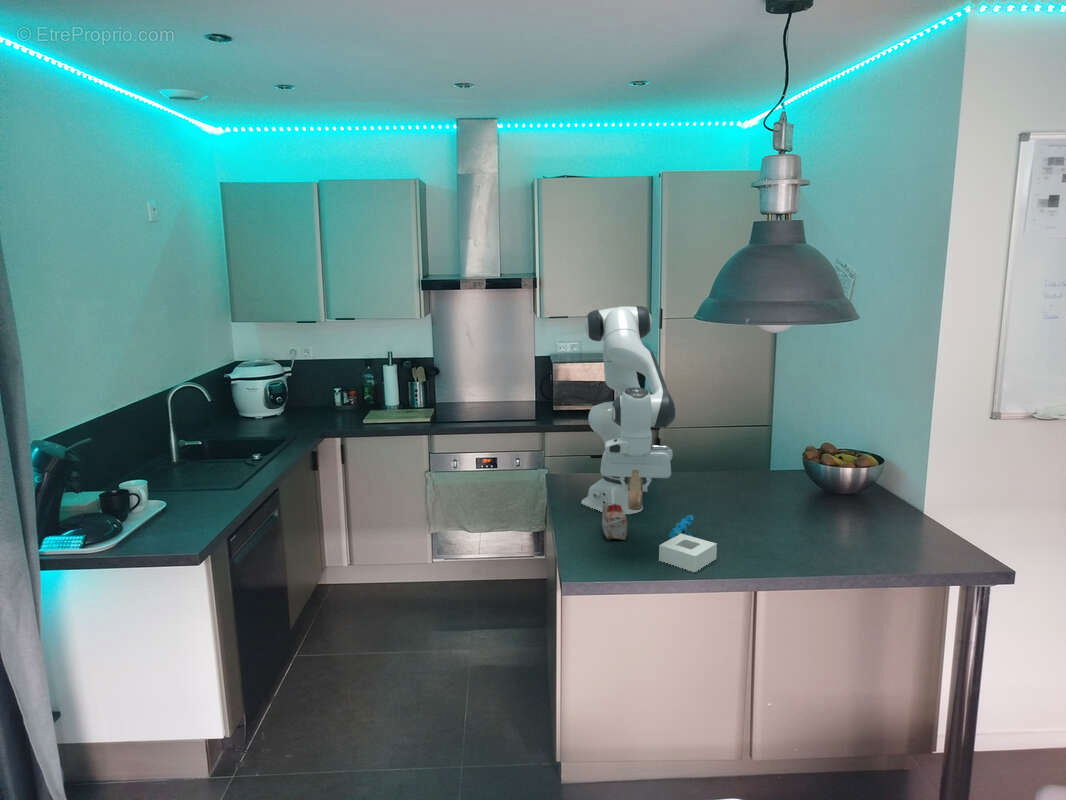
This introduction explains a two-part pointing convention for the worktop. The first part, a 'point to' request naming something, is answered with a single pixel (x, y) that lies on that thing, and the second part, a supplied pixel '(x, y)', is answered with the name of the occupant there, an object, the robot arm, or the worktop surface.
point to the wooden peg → (635, 491)
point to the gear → (681, 527)
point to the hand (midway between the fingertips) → (635, 491)
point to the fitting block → (687, 552)
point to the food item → (614, 521)
